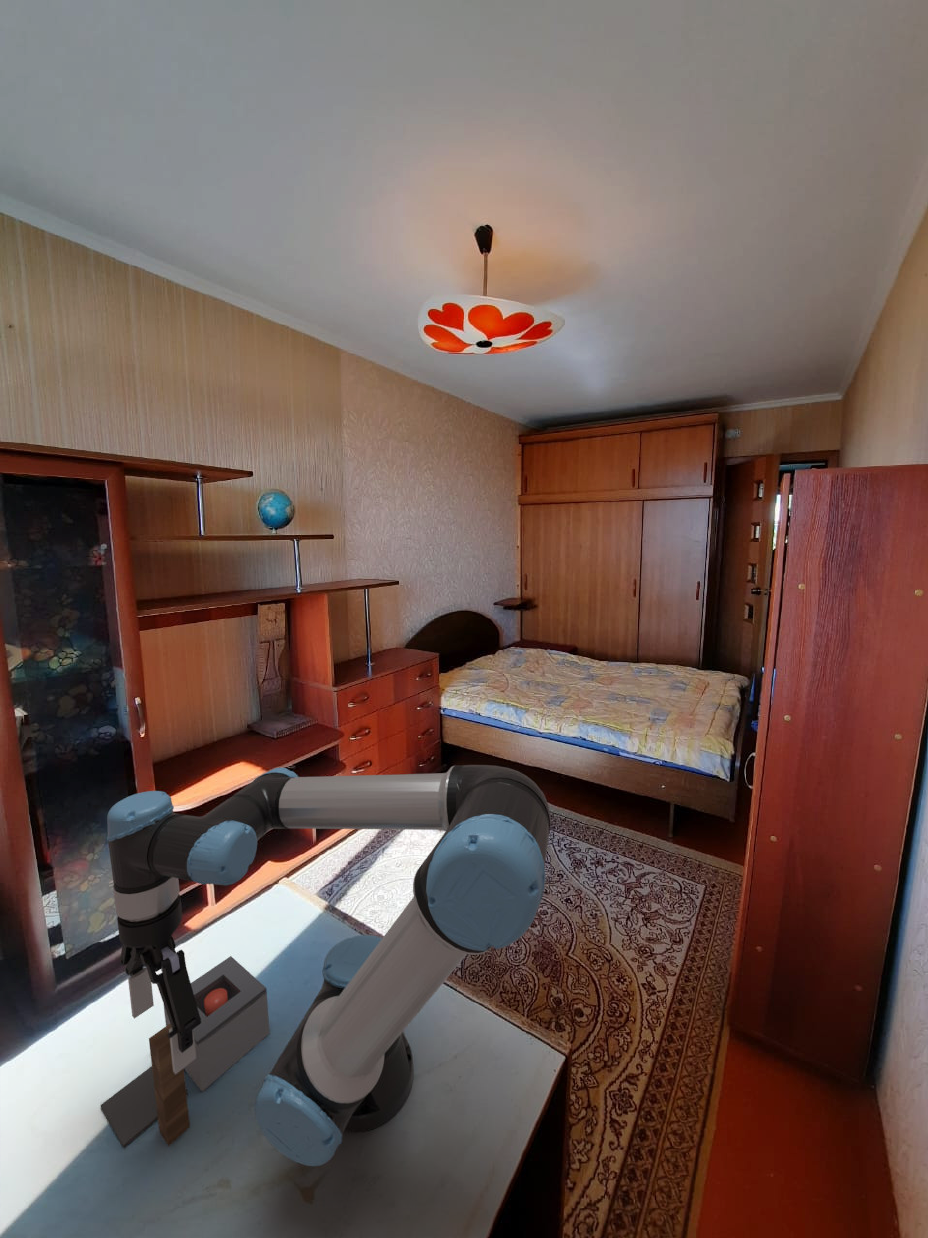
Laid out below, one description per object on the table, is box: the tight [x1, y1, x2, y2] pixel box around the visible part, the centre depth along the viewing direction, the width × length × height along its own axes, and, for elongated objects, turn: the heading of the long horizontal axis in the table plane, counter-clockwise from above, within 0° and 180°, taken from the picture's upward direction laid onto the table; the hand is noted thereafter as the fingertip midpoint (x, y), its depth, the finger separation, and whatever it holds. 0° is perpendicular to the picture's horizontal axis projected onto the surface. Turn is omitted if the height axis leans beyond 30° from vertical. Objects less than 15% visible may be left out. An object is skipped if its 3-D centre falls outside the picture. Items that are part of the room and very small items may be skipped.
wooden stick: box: [148, 1023, 191, 1147], centre depth 73 cm, size 3×3×16 cm
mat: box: [100, 1065, 189, 1149], centre depth 78 cm, size 9×9×1 cm
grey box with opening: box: [163, 955, 271, 1092], centre depth 87 cm, size 12×12×9 cm
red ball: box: [204, 988, 228, 1017], centre depth 87 cm, size 4×4×4 cm
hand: (162, 1036), depth 72 cm, fingers open, 13 cm apart
